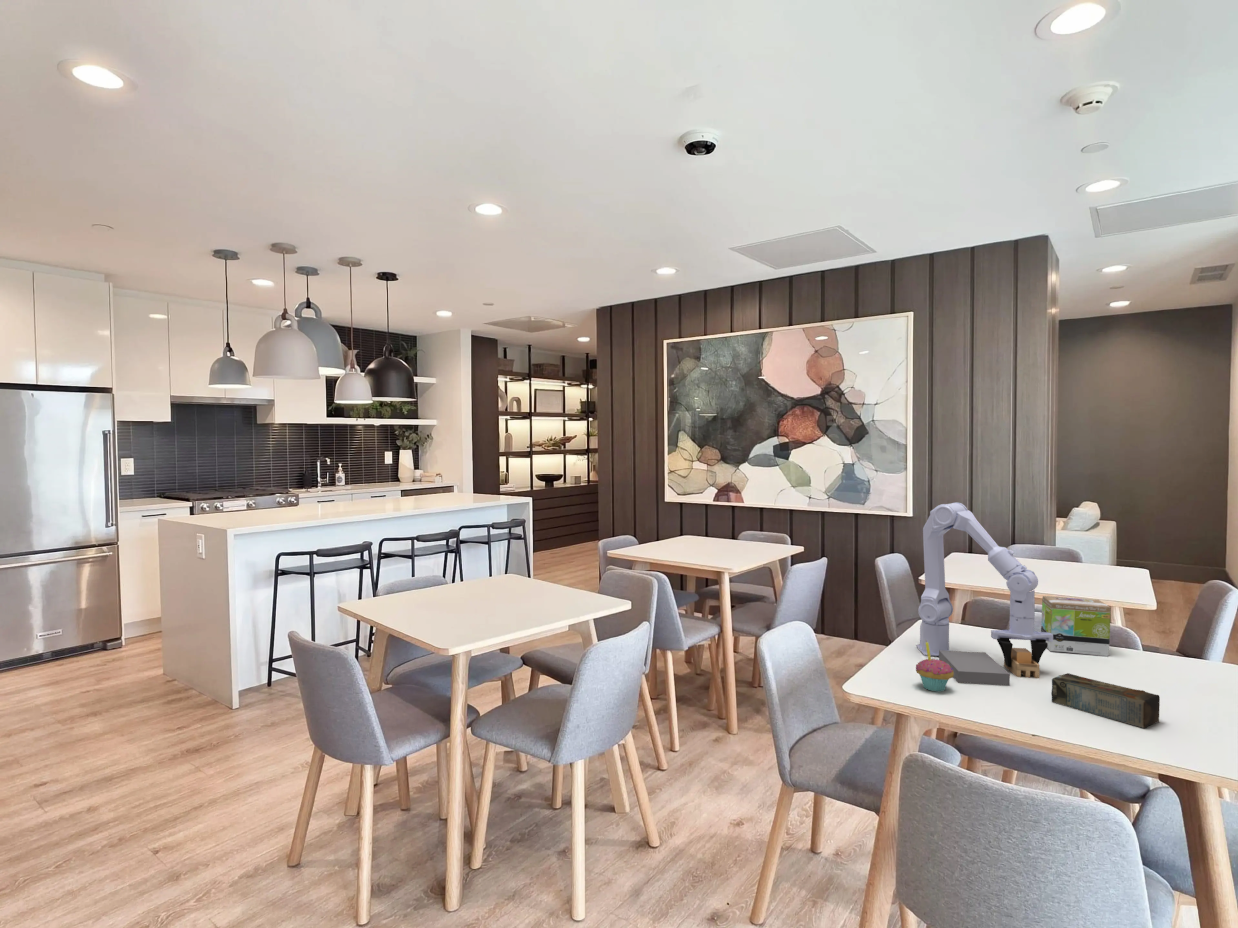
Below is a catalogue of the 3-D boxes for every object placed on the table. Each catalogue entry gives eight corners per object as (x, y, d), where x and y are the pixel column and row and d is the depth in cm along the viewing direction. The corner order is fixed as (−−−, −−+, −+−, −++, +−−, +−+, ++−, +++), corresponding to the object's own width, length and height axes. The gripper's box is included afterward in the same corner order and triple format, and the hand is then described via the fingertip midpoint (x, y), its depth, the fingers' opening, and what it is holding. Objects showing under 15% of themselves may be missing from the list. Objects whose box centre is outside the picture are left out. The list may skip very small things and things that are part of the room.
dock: (939, 660, 193) (939, 650, 193) (985, 663, 191) (985, 652, 191) (958, 682, 176) (958, 671, 175) (1009, 685, 173) (1009, 673, 173)
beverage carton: (1066, 695, 167) (1066, 668, 167) (1161, 722, 151) (1162, 693, 151) (1050, 702, 163) (1050, 675, 162) (1146, 731, 147) (1147, 700, 146)
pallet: (1004, 666, 189) (1004, 653, 189) (1025, 667, 188) (1025, 654, 188) (1016, 677, 180) (1016, 663, 180) (1039, 678, 179) (1039, 664, 179)
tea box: (1050, 652, 201) (1051, 602, 200) (1040, 642, 210) (1041, 594, 210) (1110, 657, 196) (1111, 605, 196) (1097, 647, 206) (1098, 597, 205)
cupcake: (914, 690, 170) (914, 642, 170) (917, 680, 178) (917, 633, 177) (952, 696, 166) (953, 647, 166) (954, 685, 174) (954, 638, 173)
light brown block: (1011, 658, 186) (1011, 647, 186) (1025, 659, 186) (1025, 648, 186) (1016, 663, 182) (1017, 652, 182) (1031, 663, 182) (1031, 652, 182)
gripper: (997, 618, 181) (997, 669, 181) (1058, 620, 178) (1057, 672, 179) (988, 611, 188) (987, 661, 188) (1046, 614, 185) (1046, 664, 186)
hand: (1021, 666), depth 184 cm, fingers open, 6 cm apart
